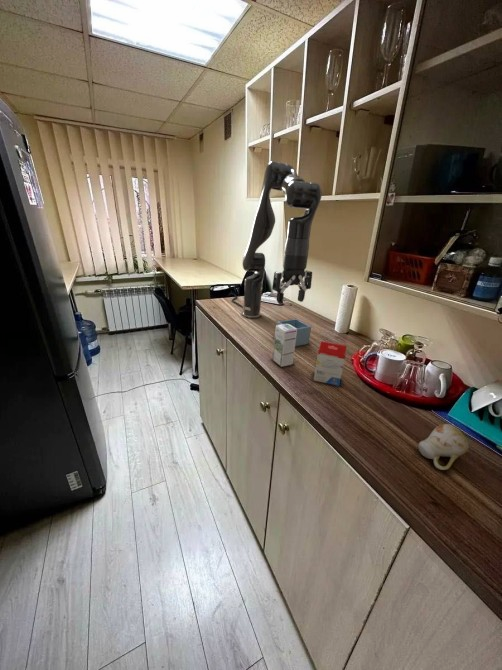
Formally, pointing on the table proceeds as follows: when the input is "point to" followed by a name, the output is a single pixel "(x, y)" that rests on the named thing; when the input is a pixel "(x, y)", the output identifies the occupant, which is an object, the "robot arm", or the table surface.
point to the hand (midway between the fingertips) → (290, 302)
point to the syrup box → (284, 344)
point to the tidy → (299, 330)
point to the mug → (444, 445)
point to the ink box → (330, 363)
